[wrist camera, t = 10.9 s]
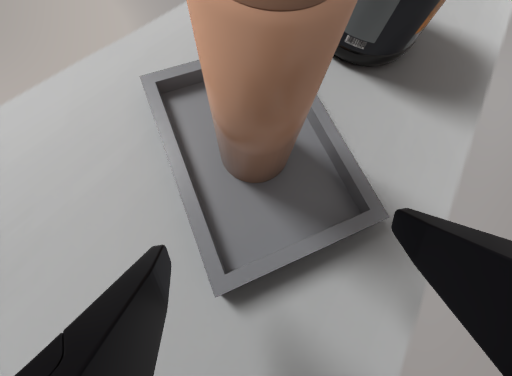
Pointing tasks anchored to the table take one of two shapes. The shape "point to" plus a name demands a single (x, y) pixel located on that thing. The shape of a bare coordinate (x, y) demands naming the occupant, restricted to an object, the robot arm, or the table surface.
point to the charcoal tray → (257, 186)
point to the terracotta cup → (264, 73)
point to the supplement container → (384, 29)
